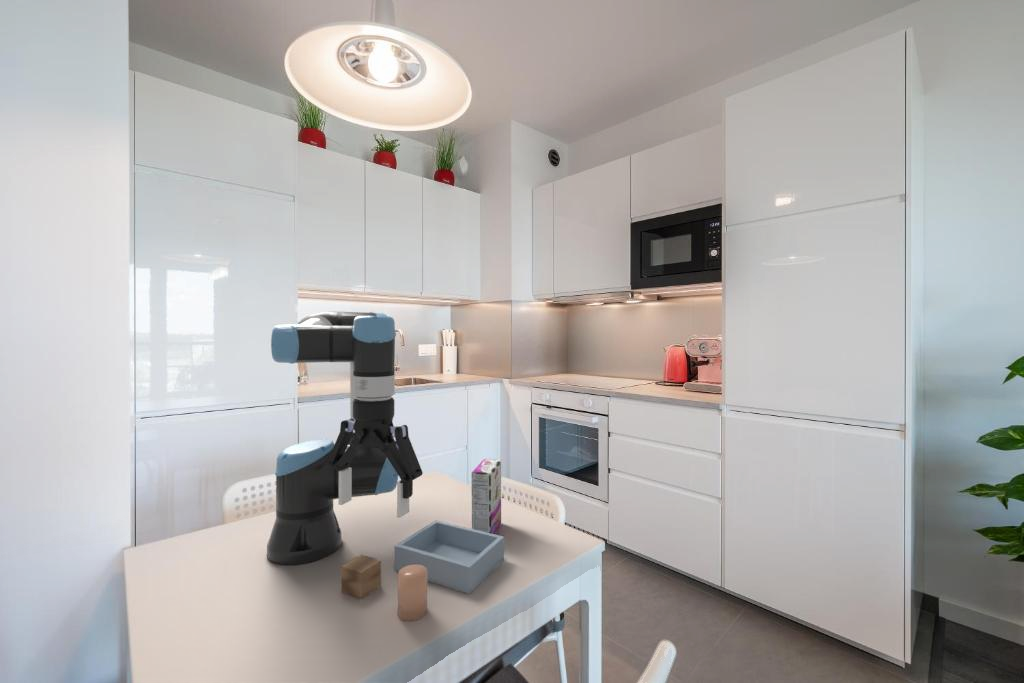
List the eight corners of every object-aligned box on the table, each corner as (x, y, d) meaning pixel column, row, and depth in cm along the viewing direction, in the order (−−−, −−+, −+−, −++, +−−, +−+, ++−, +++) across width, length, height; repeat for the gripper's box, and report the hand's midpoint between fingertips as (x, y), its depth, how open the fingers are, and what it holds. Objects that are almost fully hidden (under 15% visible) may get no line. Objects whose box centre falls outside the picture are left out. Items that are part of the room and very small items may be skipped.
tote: (394, 569, 90) (394, 545, 90) (435, 541, 102) (435, 520, 102) (469, 593, 82) (469, 567, 82) (503, 559, 94) (504, 536, 94)
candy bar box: (482, 521, 114) (483, 458, 114) (501, 523, 113) (502, 459, 113) (470, 541, 103) (470, 471, 103) (490, 543, 102) (491, 472, 102)
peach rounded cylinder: (391, 615, 75) (391, 575, 75) (410, 600, 80) (410, 562, 80) (414, 624, 73) (415, 583, 73) (432, 608, 78) (433, 568, 78)
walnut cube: (341, 592, 82) (341, 566, 82) (361, 579, 87) (361, 554, 87) (361, 600, 80) (361, 572, 80) (380, 586, 84) (380, 560, 84)
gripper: (308, 395, 84) (307, 504, 85) (418, 406, 75) (417, 528, 76) (336, 390, 91) (336, 491, 92) (441, 399, 82) (440, 511, 83)
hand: (373, 508), depth 84 cm, fingers open, 13 cm apart
